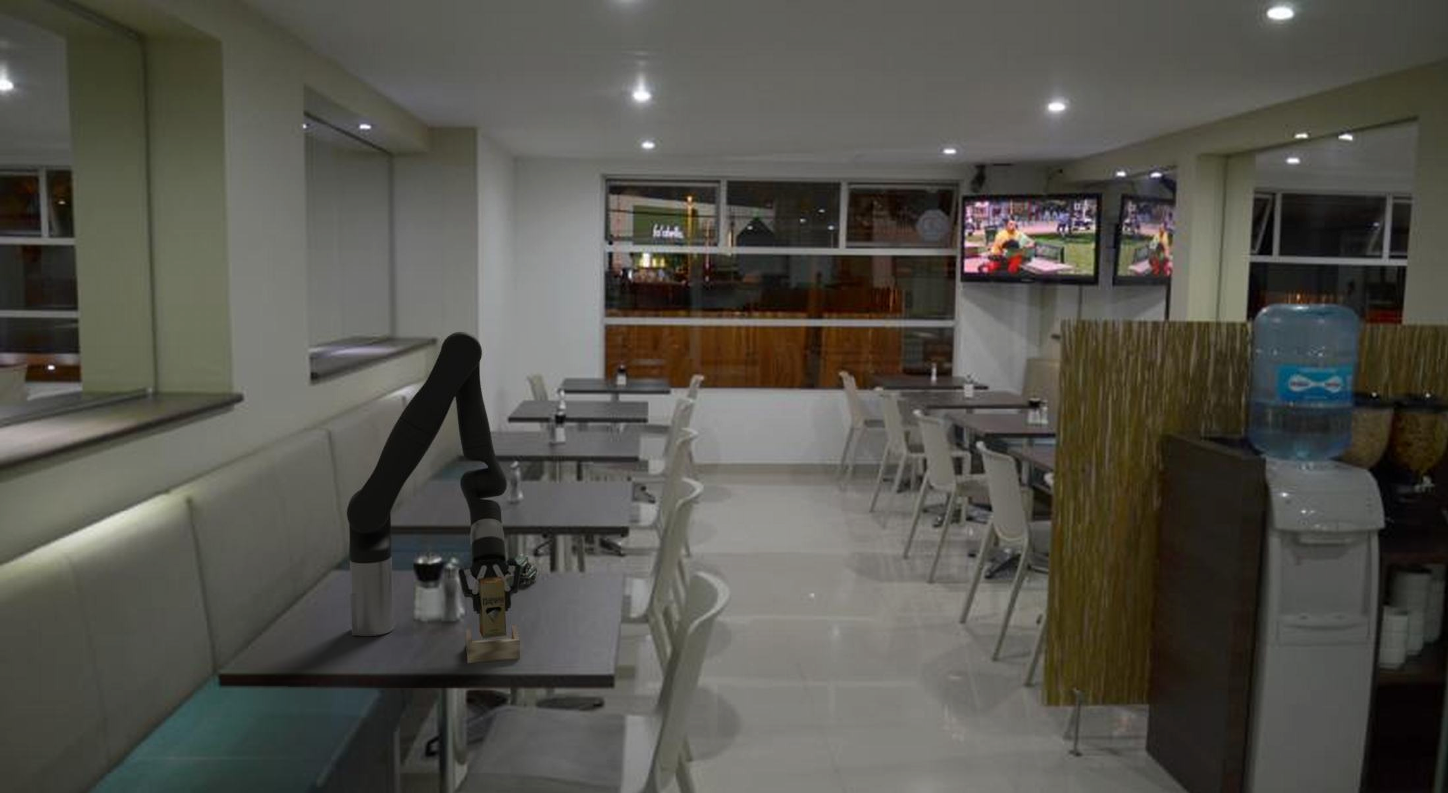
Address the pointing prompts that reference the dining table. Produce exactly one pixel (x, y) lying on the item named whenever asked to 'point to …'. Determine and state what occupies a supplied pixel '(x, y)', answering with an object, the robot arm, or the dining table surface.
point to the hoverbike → (525, 569)
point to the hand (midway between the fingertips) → (492, 610)
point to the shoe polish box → (492, 607)
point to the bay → (493, 648)
